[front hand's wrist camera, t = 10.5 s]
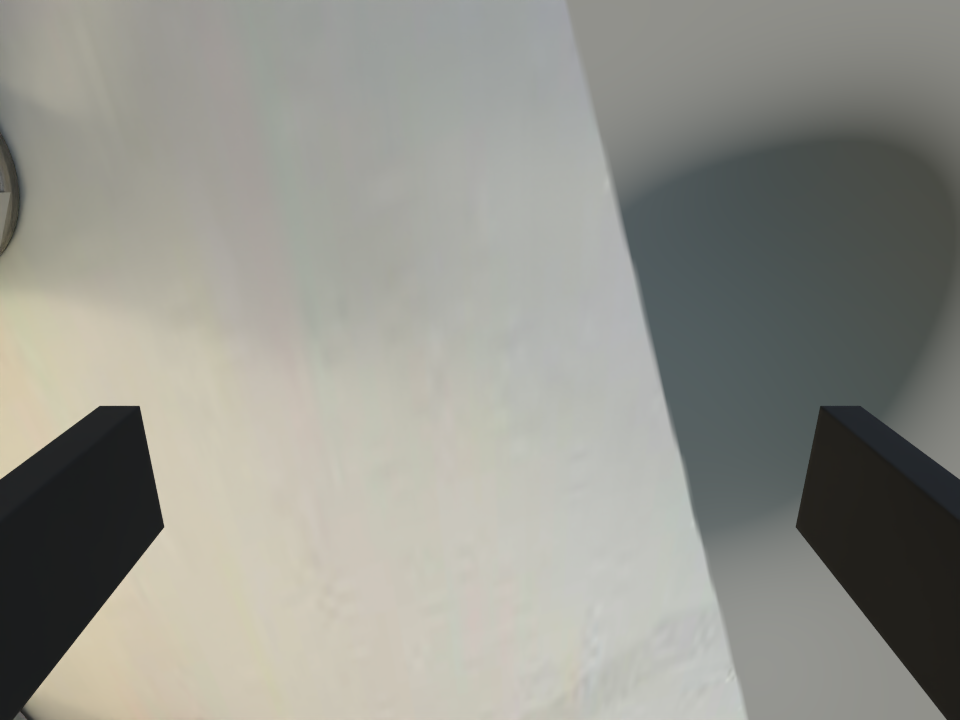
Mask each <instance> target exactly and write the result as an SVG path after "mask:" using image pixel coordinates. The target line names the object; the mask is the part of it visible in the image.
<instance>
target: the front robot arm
mask: <svg viewBox="0 0 960 720" xmlns="http://www.w3.org/2000/svg"><path fill="white" fill-rule="evenodd" d="M18 211H19V187H18V180H17V175H16V171H15V167H14V163H13V160H12V157H11V154H10V152H9V149H8V147H7V145H6V143H5V140H4V138H3V136H2V135H1V133H0V255H1V254H2V252H3V251H4V249H5V248H6V247H7V245H8V243H9V241H10V239H11V237H12V235H13V232H14V229H15V226H16V222H17V218H18ZM163 528H164V523H163V518H162V514H161V509H160V504H159V499H158V494H157V489H156V484H155V479H154V474H153V469H152V464H151V460H150V455H149V450H148V445H147V440H146V435H145V430H144V425H143V420H142V415H141V411H140V406H99V407H98V408H96V409H95V410H94V411H92V412H91V413H90V414H88V415H87V416H86V417H84V418H83V419H82V420H80V421H79V422H78V423H76V424H75V425H73V426H72V427H71V428H69V429H68V430H67V431H65V432H64V433H63V434H61V435H60V436H59V437H57V438H56V439H55V440H53V441H52V442H50V443H49V444H48V445H46V446H45V447H44V448H42V449H41V450H40V451H38V452H37V453H36V454H34V455H33V456H32V457H30V458H29V459H28V460H26V461H25V462H23V463H22V464H21V465H19V466H18V467H17V468H15V469H14V470H13V471H11V472H10V473H9V474H7V475H6V476H5V477H3V478H2V479H0V720H13V719H14V718H15V717H16V715H17V714H18V713H19V712H20V710H21V709H22V708H23V706H24V705H25V704H26V703H27V701H28V700H29V699H30V697H31V696H32V695H33V694H34V692H35V691H36V690H37V689H38V687H39V686H40V685H41V683H42V682H43V681H44V680H45V678H46V677H47V676H48V675H49V673H50V672H51V671H52V669H53V668H54V667H55V666H56V664H57V663H58V662H59V661H60V659H61V658H62V657H63V655H64V654H65V653H66V652H67V650H68V649H69V648H70V647H71V645H72V644H73V643H74V641H75V640H76V639H77V638H78V636H79V635H80V634H81V632H82V631H83V630H84V629H85V627H86V626H87V625H88V624H89V622H90V621H91V620H92V618H93V617H94V616H95V615H96V613H97V612H98V611H99V610H100V608H101V607H102V606H103V604H104V603H105V602H106V601H107V599H108V598H109V597H110V596H111V594H112V593H113V592H114V590H115V589H116V588H117V587H118V585H119V584H120V583H121V582H122V580H123V579H124V578H125V576H126V575H127V574H128V573H129V571H130V570H131V569H132V568H133V566H134V565H135V564H136V562H137V561H138V560H139V559H140V557H141V556H142V555H143V553H144V552H145V551H146V550H147V548H148V547H149V546H150V545H151V543H152V542H153V541H154V539H155V538H156V537H157V536H158V534H159V533H160V532H161V531H162V529H163ZM796 528H797V529H798V531H799V532H800V533H801V534H802V536H803V537H804V538H805V539H806V541H807V542H808V543H809V544H810V546H811V547H812V548H813V550H814V551H815V552H816V553H817V555H818V556H819V557H820V559H821V560H822V561H823V562H824V564H825V565H826V566H827V568H828V569H829V570H830V571H831V573H832V574H833V575H834V576H835V578H836V579H837V580H838V582H839V583H840V584H841V585H842V587H843V588H844V589H845V590H846V592H847V593H848V594H849V596H850V597H851V598H852V599H853V601H854V602H855V603H856V604H857V606H858V607H859V608H860V610H861V611H862V612H863V613H864V615H865V616H866V617H867V618H868V620H869V621H870V622H871V623H872V625H873V626H874V627H875V629H876V630H877V631H878V632H879V634H880V635H881V636H882V638H883V639H884V640H885V641H886V643H887V644H888V645H889V647H890V648H891V649H892V650H893V652H894V653H895V654H896V655H897V657H898V658H899V659H900V661H901V662H902V663H903V664H904V666H905V667H906V668H907V669H908V671H909V672H910V673H911V674H912V676H913V677H914V678H915V680H916V681H917V682H918V683H919V685H920V686H921V687H922V689H923V690H924V691H925V692H926V694H927V695H928V696H929V697H930V699H931V700H932V701H933V703H934V704H935V705H936V706H937V708H938V709H939V710H940V712H941V713H942V714H943V715H944V717H945V718H946V719H947V720H960V479H958V478H957V477H955V476H954V475H953V474H951V473H950V472H949V471H947V470H946V469H945V468H943V467H942V466H941V465H939V464H938V463H937V462H935V461H934V460H932V459H931V458H930V457H928V456H927V455H926V454H924V453H923V452H922V451H920V450H919V449H918V448H916V447H915V446H913V445H912V444H911V443H910V442H908V441H907V440H905V439H904V438H903V437H901V436H900V435H899V434H897V433H896V432H895V431H893V430H892V429H891V428H889V427H888V426H887V425H885V424H884V423H882V422H881V421H880V420H878V419H877V418H876V417H874V416H873V415H872V414H870V413H869V412H868V411H866V410H865V409H864V408H862V407H861V406H820V411H819V415H818V420H817V425H816V430H815V435H814V440H813V445H812V450H811V455H810V460H809V464H808V469H807V474H806V479H805V484H804V489H803V494H802V499H801V504H800V509H799V514H798V518H797V523H796Z"/></svg>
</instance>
